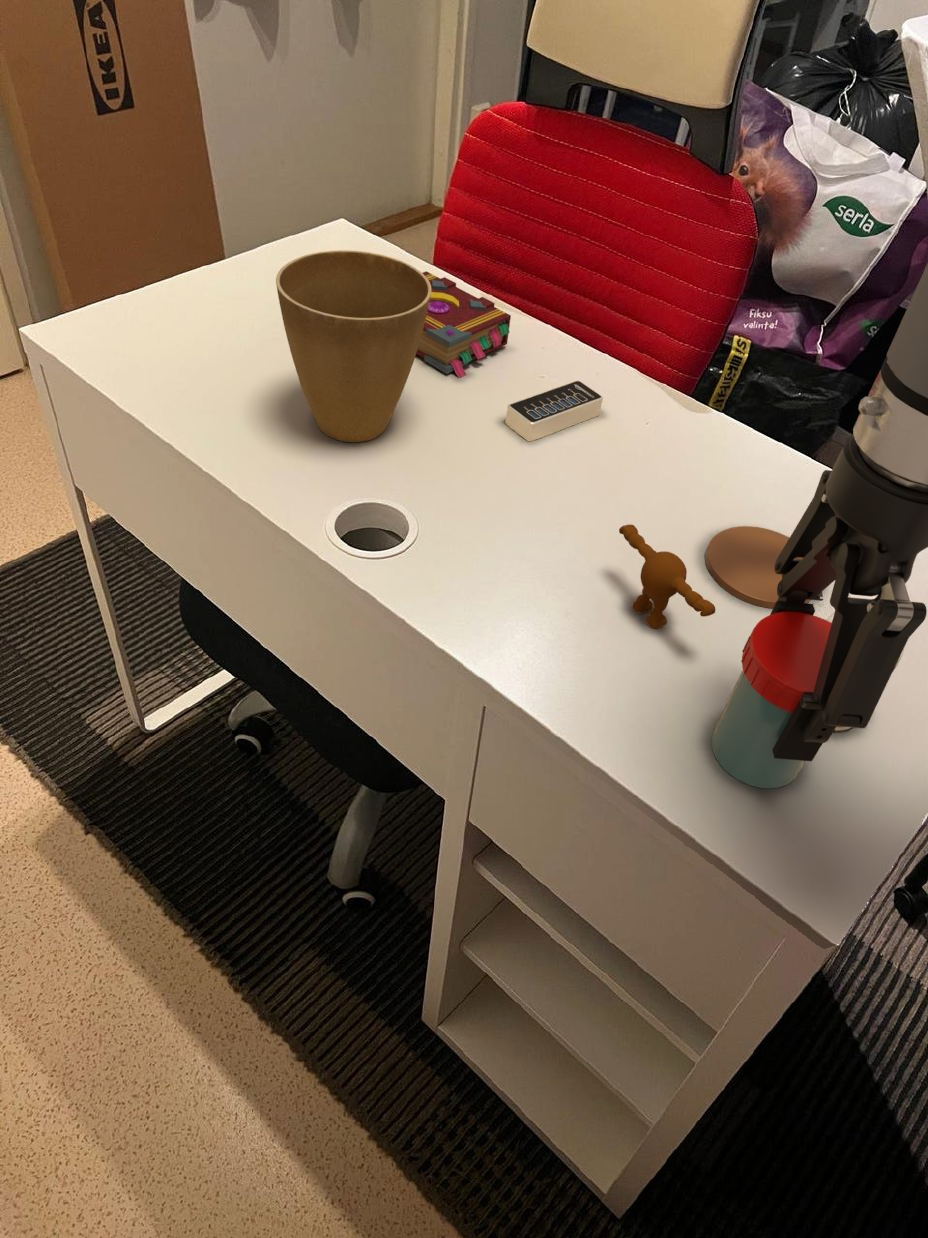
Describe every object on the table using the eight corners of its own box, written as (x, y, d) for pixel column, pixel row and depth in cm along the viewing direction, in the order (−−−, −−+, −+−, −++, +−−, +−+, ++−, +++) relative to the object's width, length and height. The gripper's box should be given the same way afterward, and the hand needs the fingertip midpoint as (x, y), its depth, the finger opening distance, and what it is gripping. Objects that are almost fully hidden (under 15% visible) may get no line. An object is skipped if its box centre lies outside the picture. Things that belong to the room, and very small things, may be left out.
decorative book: (424, 301, 119) (427, 264, 116) (515, 351, 112) (521, 313, 109) (360, 326, 113) (361, 288, 110) (452, 380, 106) (456, 341, 103)
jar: (818, 773, 70) (877, 682, 62) (745, 799, 68) (797, 707, 60) (764, 707, 75) (813, 613, 67) (694, 729, 72) (736, 635, 64)
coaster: (842, 594, 86) (846, 588, 85) (749, 620, 82) (752, 613, 81) (772, 523, 92) (775, 517, 92) (683, 544, 89) (685, 537, 88)
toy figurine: (708, 653, 78) (732, 597, 74) (675, 666, 77) (697, 609, 72) (627, 567, 85) (644, 511, 81) (595, 578, 84) (610, 521, 79)
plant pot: (394, 477, 92) (400, 332, 81) (260, 442, 94) (248, 295, 83) (439, 405, 102) (451, 267, 91) (318, 374, 104) (314, 236, 93)
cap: (761, 617, 68) (771, 595, 67) (867, 664, 66) (880, 643, 64) (724, 682, 63) (734, 660, 62) (837, 737, 61) (851, 716, 59)
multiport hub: (503, 422, 101) (506, 404, 99) (575, 396, 106) (578, 379, 105) (529, 442, 99) (532, 424, 97) (600, 414, 104) (604, 397, 102)
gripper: (806, 357, 58) (707, 606, 75) (908, 573, 44) (757, 825, 60) (919, 368, 59) (795, 614, 75) (1057, 587, 44) (867, 834, 60)
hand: (778, 707), depth 67 cm, fingers closed on cap, 8 cm apart
